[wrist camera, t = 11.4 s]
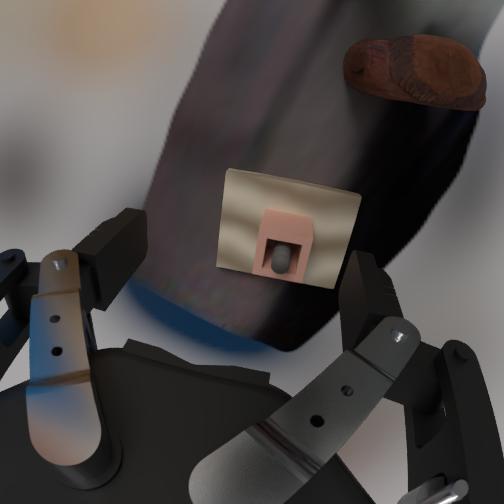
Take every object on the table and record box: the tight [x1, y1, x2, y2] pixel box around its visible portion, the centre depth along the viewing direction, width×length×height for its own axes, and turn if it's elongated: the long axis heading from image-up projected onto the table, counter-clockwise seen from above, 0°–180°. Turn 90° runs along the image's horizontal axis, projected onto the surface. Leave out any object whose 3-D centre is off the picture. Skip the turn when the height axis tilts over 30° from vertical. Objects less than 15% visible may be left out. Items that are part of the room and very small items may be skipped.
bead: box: [252, 209, 313, 283], centre depth 39 cm, size 6×6×6 cm
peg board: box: [216, 168, 361, 289], centre depth 39 cm, size 14×17×10 cm
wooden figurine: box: [343, 34, 487, 111], centre depth 23 cm, size 12×6×18 cm, turn 92°
